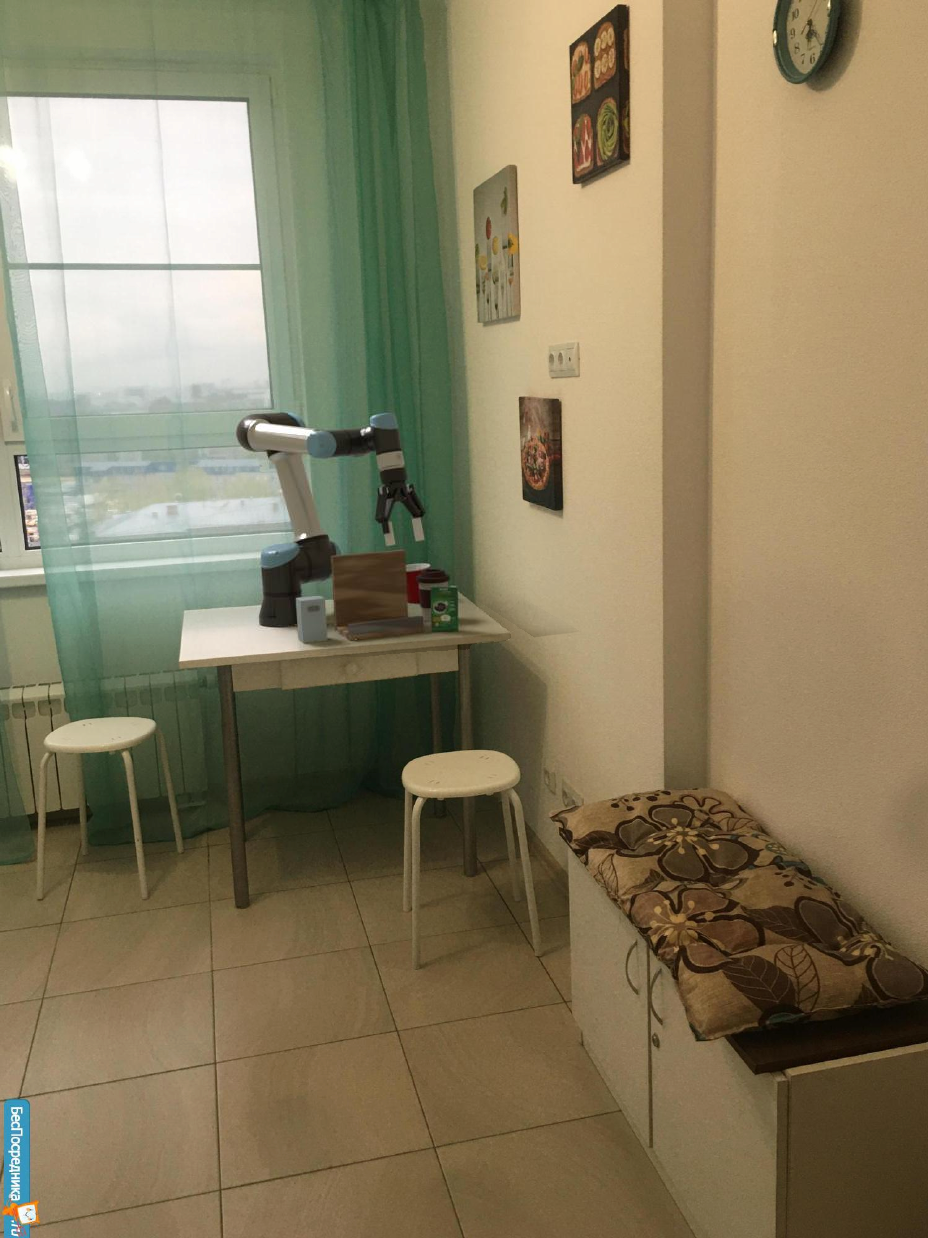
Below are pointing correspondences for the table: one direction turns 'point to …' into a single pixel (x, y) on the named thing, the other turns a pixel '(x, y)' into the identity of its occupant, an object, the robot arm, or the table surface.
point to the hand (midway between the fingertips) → (405, 543)
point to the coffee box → (444, 608)
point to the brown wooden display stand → (372, 595)
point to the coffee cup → (425, 582)
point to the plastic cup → (414, 581)
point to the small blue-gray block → (311, 619)
